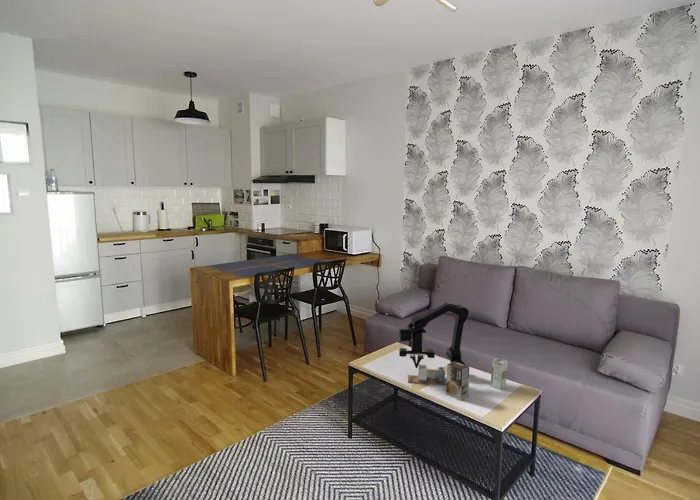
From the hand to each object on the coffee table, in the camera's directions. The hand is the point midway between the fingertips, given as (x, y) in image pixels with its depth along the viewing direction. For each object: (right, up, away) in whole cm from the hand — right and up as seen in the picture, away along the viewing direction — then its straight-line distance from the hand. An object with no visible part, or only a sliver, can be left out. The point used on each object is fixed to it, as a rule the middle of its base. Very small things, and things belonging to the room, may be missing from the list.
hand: (416, 367), depth 229 cm
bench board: (+5, -6, -3) cm, 8 cm away
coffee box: (+17, -9, -19) cm, 27 cm away
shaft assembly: (+8, -5, -3) cm, 10 cm away
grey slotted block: (+3, -6, -2) cm, 7 cm away
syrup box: (+42, -8, -8) cm, 43 cm away
